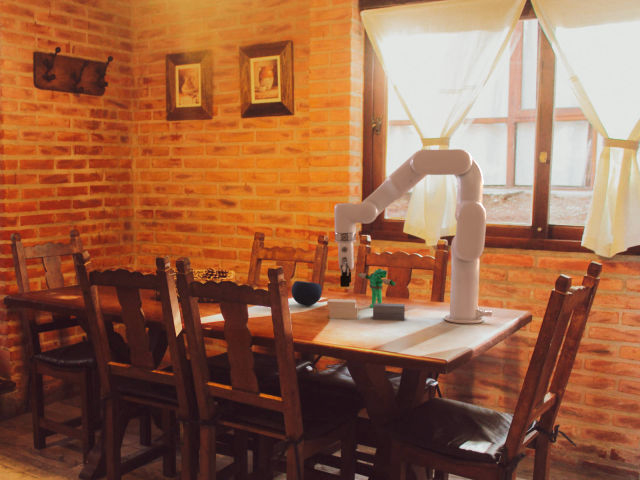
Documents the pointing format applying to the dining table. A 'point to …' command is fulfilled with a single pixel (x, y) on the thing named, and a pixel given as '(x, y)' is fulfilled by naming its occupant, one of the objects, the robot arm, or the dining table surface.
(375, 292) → the toy
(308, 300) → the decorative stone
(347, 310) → the cream book
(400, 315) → the grey book
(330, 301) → the cream book
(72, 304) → the dining table surface
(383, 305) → the grey book
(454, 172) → the robot arm
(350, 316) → the cream book
